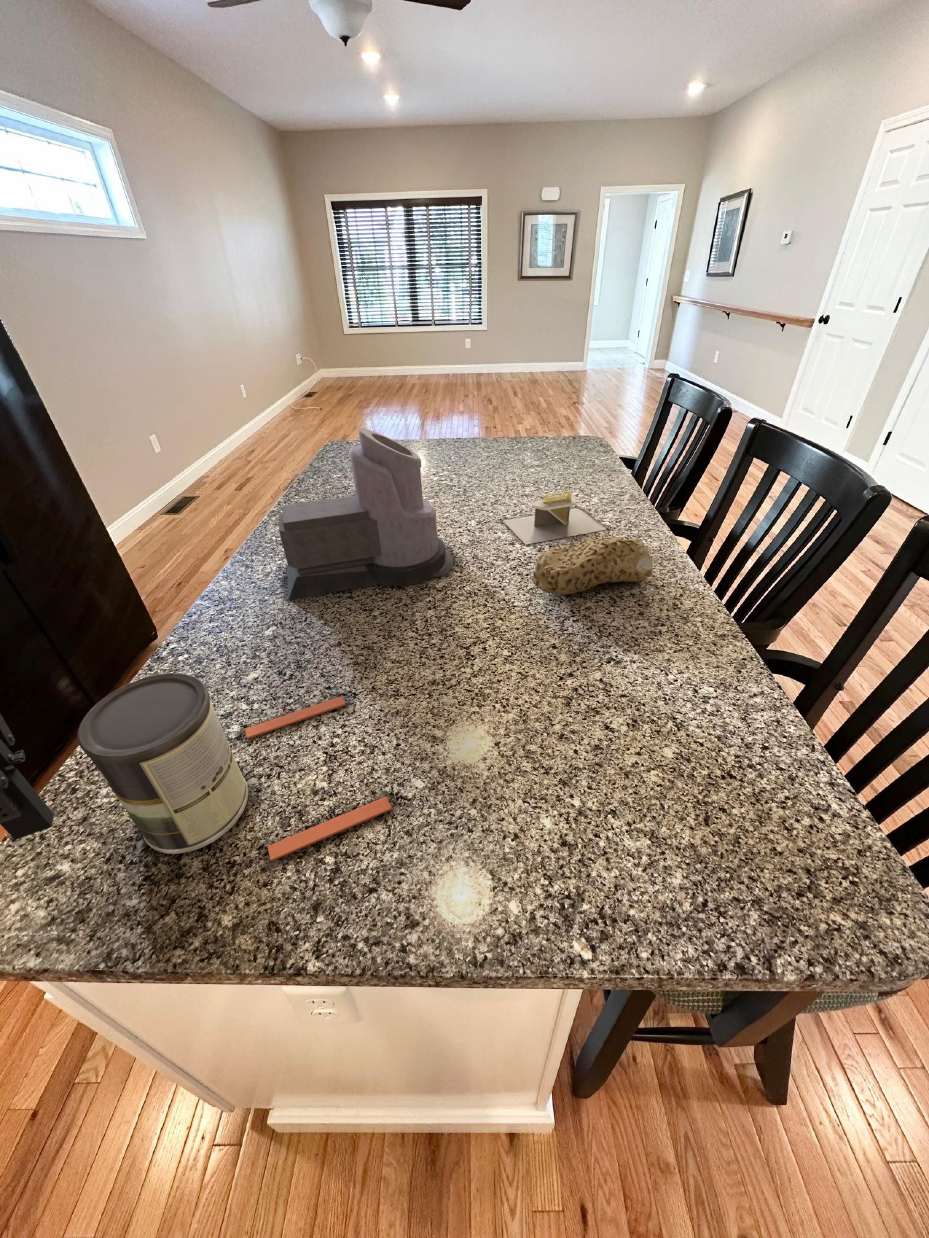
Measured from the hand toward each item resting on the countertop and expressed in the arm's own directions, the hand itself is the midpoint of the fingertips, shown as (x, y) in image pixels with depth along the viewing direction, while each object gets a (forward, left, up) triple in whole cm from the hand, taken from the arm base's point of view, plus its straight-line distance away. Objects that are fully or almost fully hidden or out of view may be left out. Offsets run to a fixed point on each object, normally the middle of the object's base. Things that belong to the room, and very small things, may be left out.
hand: (34, 826), depth 46 cm
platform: (+83, +39, -6) cm, 92 cm away
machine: (+44, +40, -6) cm, 59 cm away
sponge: (+75, +17, -6) cm, 77 cm away
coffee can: (+12, 0, -6) cm, 13 cm away
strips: (+24, 0, -6) cm, 24 cm away
